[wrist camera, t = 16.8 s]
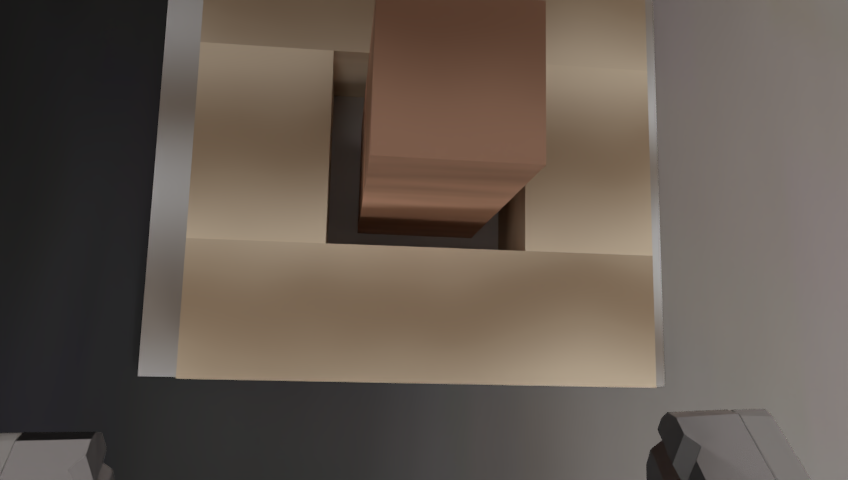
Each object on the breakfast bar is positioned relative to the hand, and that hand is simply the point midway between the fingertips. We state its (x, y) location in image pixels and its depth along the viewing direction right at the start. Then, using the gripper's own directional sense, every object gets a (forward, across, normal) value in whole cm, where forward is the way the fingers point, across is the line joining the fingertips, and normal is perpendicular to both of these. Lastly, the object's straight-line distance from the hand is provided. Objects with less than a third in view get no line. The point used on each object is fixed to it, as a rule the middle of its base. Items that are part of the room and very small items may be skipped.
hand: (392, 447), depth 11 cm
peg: (+16, -2, +5) cm, 17 cm away
